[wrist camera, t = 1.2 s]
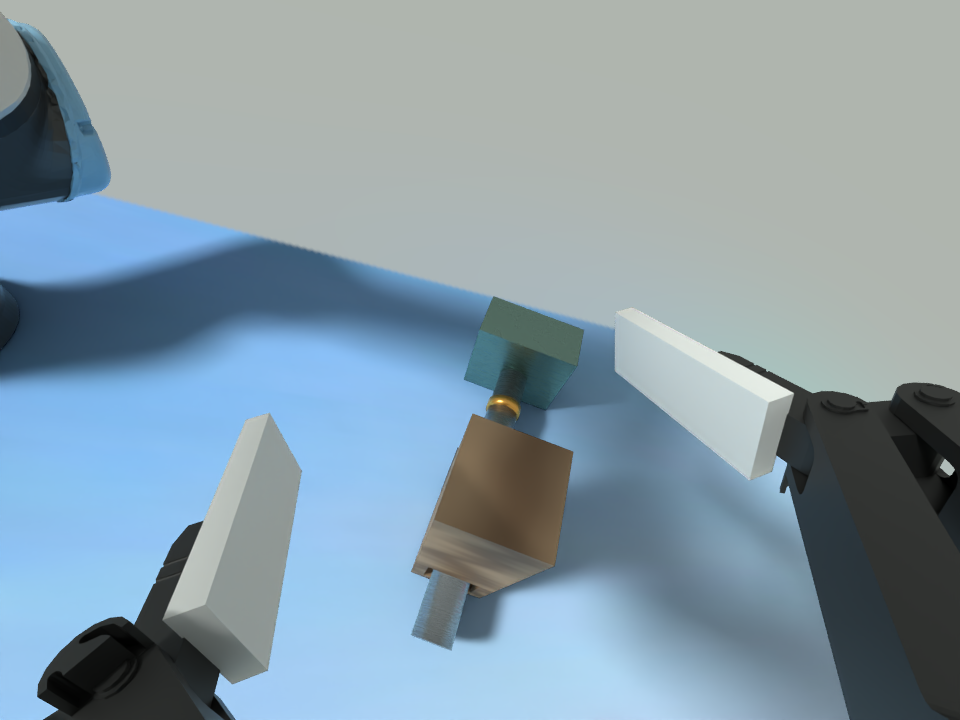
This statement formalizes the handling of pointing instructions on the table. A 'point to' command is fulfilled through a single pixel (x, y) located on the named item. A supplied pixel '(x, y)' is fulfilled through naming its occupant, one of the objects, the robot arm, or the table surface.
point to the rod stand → (503, 417)
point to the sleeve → (497, 509)
